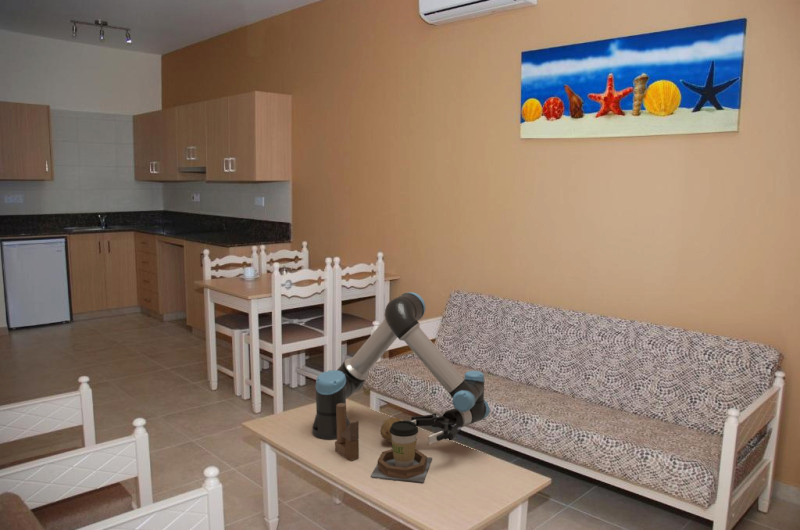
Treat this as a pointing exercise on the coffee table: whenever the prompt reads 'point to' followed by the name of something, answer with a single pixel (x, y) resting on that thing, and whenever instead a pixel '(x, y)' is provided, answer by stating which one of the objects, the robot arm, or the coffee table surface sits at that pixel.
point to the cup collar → (402, 468)
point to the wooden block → (346, 435)
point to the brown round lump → (388, 428)
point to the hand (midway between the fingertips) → (415, 434)
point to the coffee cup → (404, 442)
